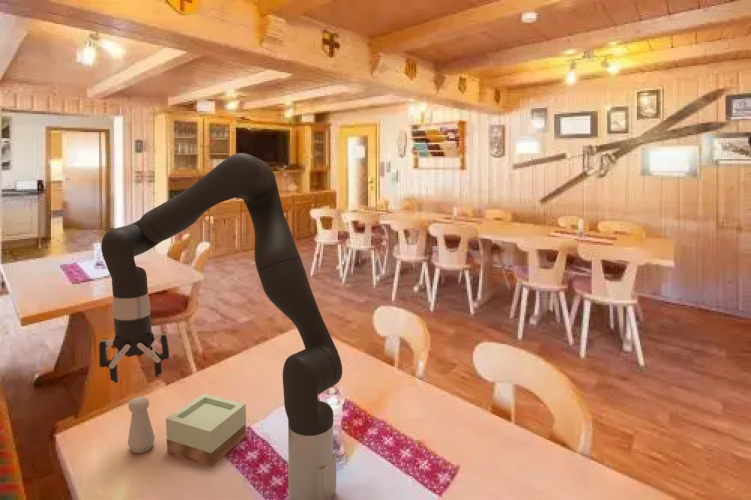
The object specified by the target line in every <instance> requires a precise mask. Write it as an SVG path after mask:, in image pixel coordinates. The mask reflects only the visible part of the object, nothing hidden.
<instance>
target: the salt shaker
mask: <svg viewBox="0 0 751 500" xmlns="http://www.w3.org/2000/svg"><path fill="white" fill-rule="evenodd" d="M149 406H150V400H149V399H148V398H147V397H145V396H138V397H137V396H136V397H133V398H132V399H131V400H130V401H129V402H128V410H129V412H131V418H130V425H129V433H128V438H127V445H128V446H129V447H128V448H130V451H132V452H133V454H140V455H141V454H143V453H147V452H149V451H150V449H151V448H152V446H153V445H154V441H155V437H156V436H155V433H154V429H153V425H152V422H151V419H150V416H149V415H150V414H149V411H148V408H149Z"/></svg>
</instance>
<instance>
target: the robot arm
mask: <svg viewBox="0 0 751 500" xmlns="http://www.w3.org/2000/svg"><path fill="white" fill-rule="evenodd" d="M233 199H241V200H243V202H244V204H245V206H246V208H247V211H248V214H249V215H250V219H251V221H252V226H253V231H254V263H255V268H256V271H257V274H258V278H259V280H260V283H261V285H262V289H263V291H264V293H265V295H266V297H267V298H268V300H269V301H270V302H271V303H272V304H273V305H275V307H276V308H277V309H279V311H280V312H281V313H283V315H285V316H286V317H287V318H288V319H289V320H290V321H291V322H292V324H293V325H294V326H295V328H296V329H297V331H298V333H299V335H300V336H299V337H301V340H302V343H303V346H304V349H302V350H300V351H297V352H295V353H292V354H291V355H289V356H288V357H287V358H286V359H285V362H284V364H283V367H282V386H283V388H282V389H283V402H284V403H283V404H284V411H285V413H286V417H287V420H288V421H287V424H288V427H287V429H288V432H287V433H288V435H287V436H288V439H287V441H288V443H287V444H288V445H287V447H288V448H287V450H288V452H287V453H288V459H287V461H288V463H287V464H288V474H287V475H288V480H287V481H288V488H287V489H288V500H330V499H331V498H332V496H333V495H334V494H335V495H336V493H337V461H338V460H337V458H338V457H337V453H335V452H334V411H333V408H332V406H331V405H330V404H329V403H326V402H325V401H322V400H320V399H319V395H320V394H322V393H323V392H325V391H327V390H329V389H330V388H332V387H334V386H335V385H337V384H339V382H340V381H341V379H342V377H343V364H342V360H341V357H340V354H339V352H338V349H337V347H336V344H335V343H334V340H333V338H332V336H331V334H330V331H329V330H328V328H327V325H326V323H325V321H324V319H323V317H322V314H321V312H320V308H319V307H318V304H317V301H316V299H315V296H314V293H313V291H312V288H311V285H310V283H309V279H308V274H307V273H306V269H305V267H304V264H303V259H302V258H301V255H300V253H299V251H298V247H297V245H296V242H295V239H294V236H293V233H292V231H291V229H290V226H289V224H288V221H287V218H286V216H285V213H284V209H283V204H282V201H281V197H280V193H279V188H278V184H277V180H276V176H275V173H274V171H273V170H272V167H271V166H270V165H269V164H268V163H267V162H266V161H264V160H262V159H261V158H260V159H259V158H257V157H256V156H254V155H252V154H248V153H245V152H238V153H235V154H232V155H229V156H228V157H227V158H225V159H224V160H223V161H221V162H220V163H219V164H217V165H216V166H215V167H214V168H212V169H211V170H210V171H209V172H207V173H206V174H205V175H203V177H201V178H200V179H199V180H197V181H196V182H195V183H193V184H192V185H190V186H189V187H188V188H186V189H185V190H184V191H182V192H180V193H179V194H177V195H175V196H174V197H172V198H169V200H167V201H165V202H163V203H161V204H160V205H158V206H156V207H154V208H152V209H150V210H148V211H146V213H144V214H143V215H142V216H141V217H140V219H138V220H137V221H135V222H132V223H130V224H128V225H123V226H120V227H114V228H111V229H110V230H107V232H105V234H104V235H103V236H102V240H101V245H100V248H101V249H100V250H101V255H102V258H103V261H104V263H105V266H106V269H107V271H108V273H109V275H110V277H111V287H112V312H111V313H112V316H113V326H114V328H113V329H114V338H113V339H107V338H104V337H103V338H101V339H100V342H99V343H98V346H99V347H98V351H99V360H98V361H99V364H98V365H99V367H100V368H104V367H105V368H108V369H109V377H110V381H111V382H113V383H114V384H117V383H119V379H120V378H119V377H120V376H119V368H118V365H119V364H118V363H119V362H120V361H121V360H122V359H123V358H124V356H126V357H127V358H129V357H134V356H137V357H138V356H143V355H146V356H148V357H149V358H151V360H153V361H154V363H153V365H154V377H155V378H159V377H160V375H162V369H163V368H162V367H163V366H162V361H163V360H168V359H169V358H170V350H169V349H170V348H169V342H168V334H167V332H166V331H162V332H161V333H160V334H159V333H158V334H153V331H152V329H153V328H152V317H151V316H152V315H151V302H150V301H151V300H150V296H149V292H148V291H149V288H148V287H149V286H148V276H147V272H146V270H145V269H144V268H143V267H140V266H137V263H136V262H135V257H136V256H140V255H142V254H144V253H146V252H148V251H150V250H152V249H153V248H155V247H156V246H157V245H159V244H160V243H162V242H164V241H166V240H168V239H170V238H172V237H175V236H176V235H178V234H180V233H181V232H184V231H186V230H187V229H188V228H190V227H191V226H192V225H194V224H195V223H196V222H197V221H198V220H199V219H200V218H201V217H202V215H203V214H204V213H206V212H207V211H208V210H210V209H211V208H213V207H214V206H216V205H218V204H221V203H224V202H225V201H229V200H233ZM155 341H156V342H157V343H158V345H159V344H160V345H161V351H162V352H158V351H157V350H156V348H155V347H154V346H153V345H152V344H153V343H154V342H155ZM111 346H113V347H114V348H115V349H117V351H116V353H115V354H114V355H113V357H112V358H111V359H109V358H108V351H109V350H110V348H111ZM335 492H336V493H335ZM335 495H334V496H335ZM334 496H333V497H334ZM332 499H333V498H332ZM332 499H331V500H332Z"/></svg>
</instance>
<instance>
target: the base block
mask: <svg viewBox="0 0 751 500" xmlns="http://www.w3.org/2000/svg"><path fill="white" fill-rule="evenodd" d="M246 424H247V423H246ZM246 424H245V425H244V426H243V427H242V428H240V429H239V430H238V431H237V432H236V433H234V434H233V435H232V436H231V437H230V438H229V439H227V440H226V441H225V442H224V443H223V444H222V445H220V446H219V447H218V448H217V449H216V450H214V451H213V452H212V453H209V452H206V451H202V450H199V449H196V448H193V447H190V446H187V445H184V444H180V443H177V442H174V441H171V440H168V439H167V438H166V450H167V453H169V454H171V455H174V456H177V457H180V458H183V459H186V460H188V461H193V462H195V463H197V464H201V465H204V466H207V467H209V468H212V467H213V466H214V465H215V464H216V463H217V462H218V461H220V460H221V459H222V458H223V457H224V456H226V455H227V454H228V453H229V452H230V451H231V450H232V449H234V448H235V447H236V446H237V445H238V444H239V443H240V442H242V441H243V440H244V439H246V437H247V425H246Z"/></svg>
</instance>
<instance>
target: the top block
mask: <svg viewBox="0 0 751 500" xmlns="http://www.w3.org/2000/svg"><path fill="white" fill-rule="evenodd" d="M246 410H247V408H246V403H243V402H239V401H235V400H232V399H227V398H224V397H221V396H217V395H214V394H213V395H212V394H209V393H205V392H203V393H202V394H200V395H199V396H198V397H196V398H194V399H193V400H191V401H190V402H189V403H187V404H185V405H184V406H183V407H181V408H179V409H178V410H177V411H175V412H173V413H172V414H171V415H169V416H167V417H165V427H166V440H167V439H168V440H171V441H174V442H177V443H180V444H184V445H187V446H190V447H193V448H196V449H199V450H202V451H206V452H209V453H212V452H213V451H214V450H216V449H217V448H218V447H219V446H220V445H222V444H223V443H224V442H225V441H226V440H227V439H229V438H230V437H231V436H232V435H233V434H234V433H236V432H237V431H238V430H239V429H240V428H242V427H243V426H244V425H245V424H247V411H246Z"/></svg>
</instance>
